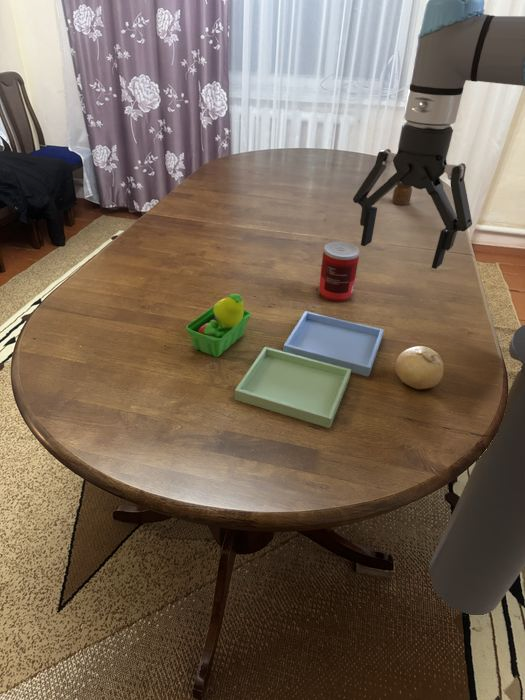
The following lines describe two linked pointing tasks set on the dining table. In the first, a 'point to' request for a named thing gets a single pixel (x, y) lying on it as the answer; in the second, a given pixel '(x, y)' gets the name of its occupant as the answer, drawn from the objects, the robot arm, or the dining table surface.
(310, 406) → the green tray
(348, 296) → the canned food
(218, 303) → the fruit basket
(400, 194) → the utensil holder
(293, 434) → the dining table surface
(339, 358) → the blue tray
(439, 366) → the onion
